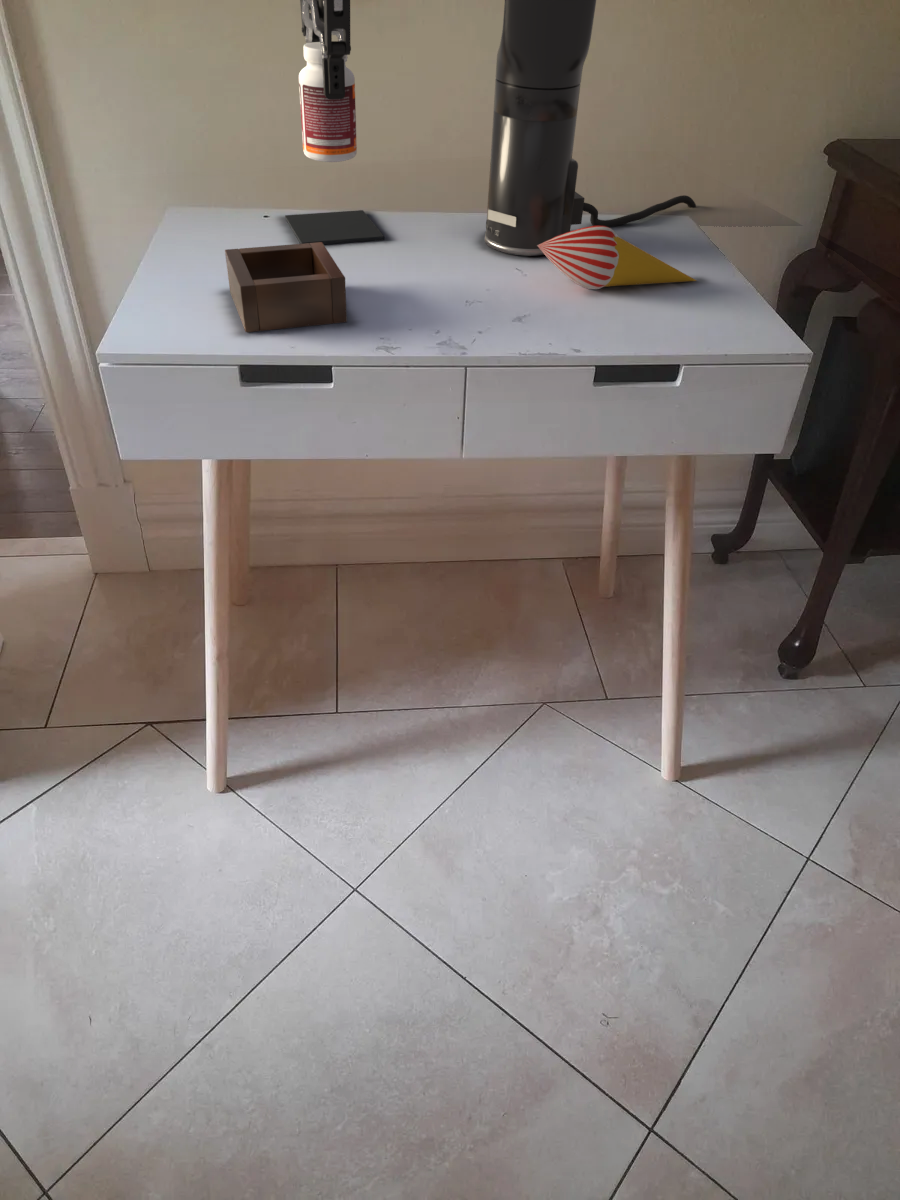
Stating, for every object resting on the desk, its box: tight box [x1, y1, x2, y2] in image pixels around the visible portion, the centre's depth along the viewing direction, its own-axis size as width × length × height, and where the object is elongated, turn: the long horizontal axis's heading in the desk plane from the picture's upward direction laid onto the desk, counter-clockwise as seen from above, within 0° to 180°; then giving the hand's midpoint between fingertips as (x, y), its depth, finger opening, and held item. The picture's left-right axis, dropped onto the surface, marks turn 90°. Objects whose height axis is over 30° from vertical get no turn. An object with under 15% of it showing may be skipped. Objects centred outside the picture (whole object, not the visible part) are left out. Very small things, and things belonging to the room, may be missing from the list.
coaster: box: [284, 209, 385, 245], centre depth 108 cm, size 10×10×1 cm
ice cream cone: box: [537, 225, 698, 290], centre depth 96 cm, size 6×6×20 cm
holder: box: [224, 242, 348, 333], centre depth 89 cm, size 10×10×4 cm
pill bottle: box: [298, 42, 358, 163], centre depth 99 cm, size 6×6×11 cm
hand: (327, 91), depth 99 cm, fingers closed on pill bottle, 6 cm apart
